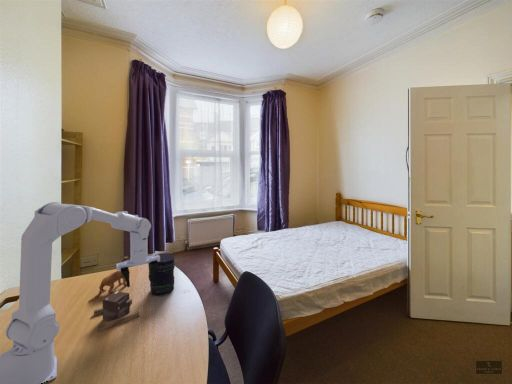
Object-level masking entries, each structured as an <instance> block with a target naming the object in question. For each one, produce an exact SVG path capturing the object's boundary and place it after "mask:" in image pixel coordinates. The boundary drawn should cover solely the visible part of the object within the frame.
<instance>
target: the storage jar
mask: <svg viewBox="0 0 512 384" xmlns="http://www.w3.org/2000/svg"><path fill="white" fill-rule="evenodd" d="M156 255H159V256H160V261H159V262H157V263H158V266H157V268H156V270H155V272H154V274H153V278H152V281H150V280H149V283H150V284H149V288H150V294H151V295H152V296H155V297H162V296H167V295H169V294H171V293H173V292H174V290H175V275H174V274H175V273H174V272H175V267H176V266H175V262H176V261H175V254H174V253H168V252H165V253H158V254H155V255H153V256H156Z"/></svg>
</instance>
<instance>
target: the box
mask: <svg viewBox="0 0 512 384" xmlns="http://www.w3.org/2000/svg"><path fill="white" fill-rule="evenodd" d="M129 299H130V293H129V292H124V291H115V292H113V294H109V295H107V296H106V297H105V298H103V299H102V308H103V313H102V320H106V321H112V320H115V319H118V318H120V317H123V316H126V315H128V314H130V311H131V310H130V309H131V306H130V305H131V304H130V300H129Z"/></svg>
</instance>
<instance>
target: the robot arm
mask: <svg viewBox="0 0 512 384" xmlns="http://www.w3.org/2000/svg"><path fill="white" fill-rule="evenodd" d="M92 220H93V221H98V222H104V223H107V224H110V226H111V228H112V229H116V230H120V231H121V230H122V231H126V232H129V240H130V241H129V242H130V243H129V244H130V248H129V249H130V251H129V252H130V258H129V260H127V261H124V262H122V261H121V262H119V263H116V264H115V265H116V271H121V273H122V274H123V276H124V278H125V280H126V284H127V286H126V288H130V287H131V284H130V273H131V272H130V269H129V268H132V267H138V266H143V265H146V264H148V265H147V266H148V280H149V282H150V281H152V278H153V274H154V272H155V270H156V268H157V266H158V263H157V262H159V261H160V256H159V255H157V254H155V255H156V256H154V255H148V254H149V253H148V251H149V250H148V244H149V243H148V241H149V240H148V237H149V235H150V233H149V232H150V230H151V228H152V224H151V222H150V220H148V219H147V218H146V217H139V215H138V214H134V215H133V214H130V213H129V211H126V210H122V211H116V212H114V213H112V212H109V211H105V210H103V209H99V208H96V207H92V206H86V205H79V204H78V205H77V204H71V203H60V202H54V201H53V202H52V201H51V202H48V203H46V204H44V205H43V206H41V207H39V208H38V209H36V210H34V216H33V218H32V220H31V222H29V224H28V226H27V227H26V228H25V230H24V232H23V233H22V235H21V243H20V268H19V272H20V273H19V296H18V308H17V309H16V310H14V311H13V312H12V313H11V319H10V322H9V324H8V325H7V327H6V328H5V329H6V330H5V337H6V338H7V339H8V340H11V341H12V347H11V348H10V349H8V350H6V351H4V352H2V353H0V384H41V383H43V382H45V383H47V382H46V381H48V382H50V381H52V380H54V379H56V378H57V377H58V357H57V356H56V355H55V338H56V337H57V336H58V334H59V331H60V324H59V322H58V321H57V319H56V311H55V310H54V308H53V307H52V305H51V285H52V284H51V283H52V259H53V258H52V257H53V256H52V255H53V242H55V241H56V240H58V239H59V238H60V237H61V236H64V235H66V234H68V233H71V232H72V231H74V230H77V229H78V228H81V226H83V225H84V223H85V224H89V222H91V221H92ZM43 384H44V383H43Z"/></svg>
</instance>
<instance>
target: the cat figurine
mask: <svg viewBox="0 0 512 384" xmlns="http://www.w3.org/2000/svg"><path fill="white" fill-rule="evenodd" d="M130 258H131V254H128V255H127V256H123V257H122V258H121V262H124V261H127V260H130ZM121 279H122V282H121ZM115 283H118V285H119V286H121V285H122V286H123V287H127V284H126V280H125V278H124V276H123V274H122V273H121V270H118V271H117V270H115V271H114V272H112V273H110V274H109V275H107V276H106V277H103V279H102V280H101V282H100V285H99V287H98V289H99V291H98V293H97V294H96V295H95V296H94V297H93V298H91V299H88V301H87V303H90V302H92V301H94V300H96V299H97V298H99V297H100V295H102V292H103V293H104V292H106V291H107V290H106V289H104V287H109V289H108V291H107V292H108V294H109V295H111V294H113V293H114V292H113V289H114V288H115Z"/></svg>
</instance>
